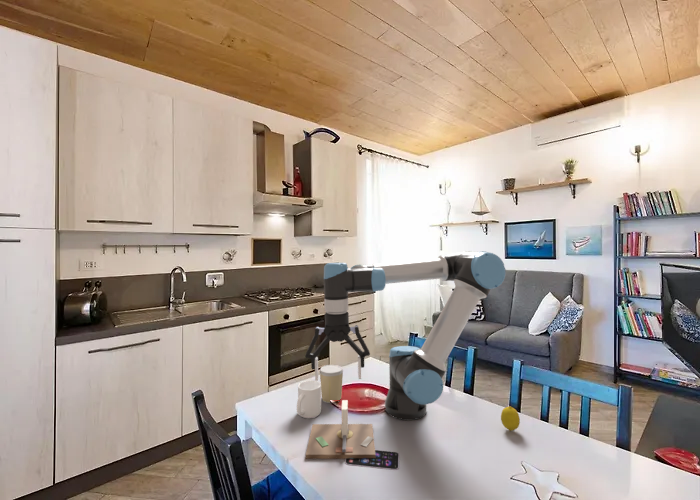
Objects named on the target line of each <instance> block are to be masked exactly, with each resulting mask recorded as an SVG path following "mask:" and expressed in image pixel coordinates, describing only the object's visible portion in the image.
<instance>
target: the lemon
mask: <svg viewBox="0 0 700 500" xmlns="http://www.w3.org/2000/svg"><path fill="white" fill-rule="evenodd" d="M520 420H521V419H520V415H519V412H518V411H517V410H516V409H515V408H514V407H512V406H510V405H509V406H506V407H504V408H503V409H502V410H501V415H500V421H501V423H502V425H503V427H504V428H505V429H507V430H508V431H509V432H512V431H515V430H517V429H518V428H519V427H520V423H521V422H520Z"/></svg>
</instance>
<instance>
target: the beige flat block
mask: <svg viewBox="0 0 700 500" xmlns="http://www.w3.org/2000/svg"><path fill="white" fill-rule="evenodd" d="M348 406H349V401H348V399H341V424H342V429H341V434H342V438H343V445H342V452H346V438H348V434H349V429H348V424H349V414H348V413H349V407H348Z"/></svg>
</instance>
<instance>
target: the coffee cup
mask: <svg viewBox="0 0 700 500" xmlns="http://www.w3.org/2000/svg"><path fill="white" fill-rule="evenodd" d="M343 373H344V369H343V367H342V366H340V365H336V364H326V365H323V366H322V367H320V369H319V378H320V379H319V380H320V381H319V382H320V383H321V401H323V402H324V403H326V404H331V403H330V400H340V399H341V400H342V395H343V393H342V392H343V376H344V375H343ZM341 400H340V401H341Z"/></svg>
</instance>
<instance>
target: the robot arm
mask: <svg viewBox="0 0 700 500" xmlns="http://www.w3.org/2000/svg"><path fill="white" fill-rule="evenodd" d="M505 278H506V267H505V264H504V262H503V260H502V258H501V257H500V256H498V255H497V254H495V253H493V252H488V251H472V250H469V251H466V250H465V251H461V252H455V253H450V254H441V255H439V256H438V257H437V258H428V259H416V260H407V261H397V262H396V261H394V262H384V263H373V264H363V265H362V264H356V265H352V266H351V267H348V263H347V262H328V263H326V264H325V265H324V266H323V293H324V311H325V313H324V327H319V326H316V327H315V329H314V335H313V337H312V339H311V342H310V344H309V346H308V349H307V350H306V353H305V358H306V359H310V362H311V365H310V366H311V370H314V375H315V376H314V378H315V379H314V381H318V380H319V357H318V355H319V354H320V353H321V352H322V351H323V350H324V348H325V347H326V346H327V345H328V344H329V342H332V343H337V342H339V343H340V342H341V343H342V342H343V341H345V342H346V343H347V344H348V345H349V346H350V347H351V348H352V350H354V352H355V353H356V354H357V374H358V380H362V368H365V358H366V357H369V356H370V355H371V353H370V350H369V348H368V346H367V344H366V343H365V341H364V338H363V337H362V335H361V333H360V328H359V325H357V324H356V325H354V326H350V324H349V323H350V322H349V321H350V318H349V316H350V315H349V313H350V312H349V293H361V292H374V293H376V292H379V291H384V289H385V288H386V285H388V284H397V283H399V284H400V283H407V282H408V283H409V282H418V281H419V282H420V281H430V280H440V281H442V282H449V281H452V282H453V283H454V286H455V287H454V289H453V291H451V294H450V295H449V297H448V299H447V301H446V303H445V304H444V306H443V308H442V310H441V312H440V313H439V316H438V318H437V319H436V321H435V322H434V324H433V326H432V328H431V330H430V331H429V334H428V335H427V337H426V339H425V341H424V343H423V344H422V346H421V348H419V347H418V346H411V345H400V346H394V347H391V349H389V356H388V358H389V360H388V361H389V365H388V366H389V369H388V370H389V389H388V391H387V395H386V397H385V401H384V410H385V412H386V413H387V414H388V415H389V416H391V417H393V418H395V419H399V420H405V421H413V420H414V421H415V420H419V419H421V418H423V417H424V416H425V415H426V414H427V405H429V404H433V403H434V402H436V401H438V399H439V398H440V397H441V396H442V394H443V391H444V382H443V379H442V378H443V377H444V375H445V374H446V373H447V368H446V365H445V363H446V361H447V359H448V357H449V356H450V354H451V352H452V350H453V348H454V347H455V345H456V343H457V341H458V339H459V338H460V336H461V334H462V332H463V330H464V329H465V327H466V325H467V323H468V322H469V319H470V317H471V316H472V314H473V312H474V310H475V309H476V307H477V305H478V303H479V301H480V300H482V299H486V298H487V297H488V295H489V293H490V292H491V290H492V289H494V290H495V289H496V288H498V287H500V286H501V285H502V284H503V282H504V281H505ZM351 332H352V334H353V335H354V334H355V336H356V338H357V340H358V342H359V343H360V345H361V347H360V346H358V345H357V343H355V342H354V340H353V339H352V338H351V337H350V336H349V334H351ZM322 333H324V334H325V337H324V339H323V340H322V342H320V343H319V345H318V346H317V348H316V349H315V350H314V351H313V349H314V347H315V345H316V343H317V341H318V338H319V335H320V336H321V335H322ZM361 348H362V349H363V350H362V349H361ZM312 351H313V352H312ZM318 382H319V381H318ZM385 408H386V409H385Z"/></svg>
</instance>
